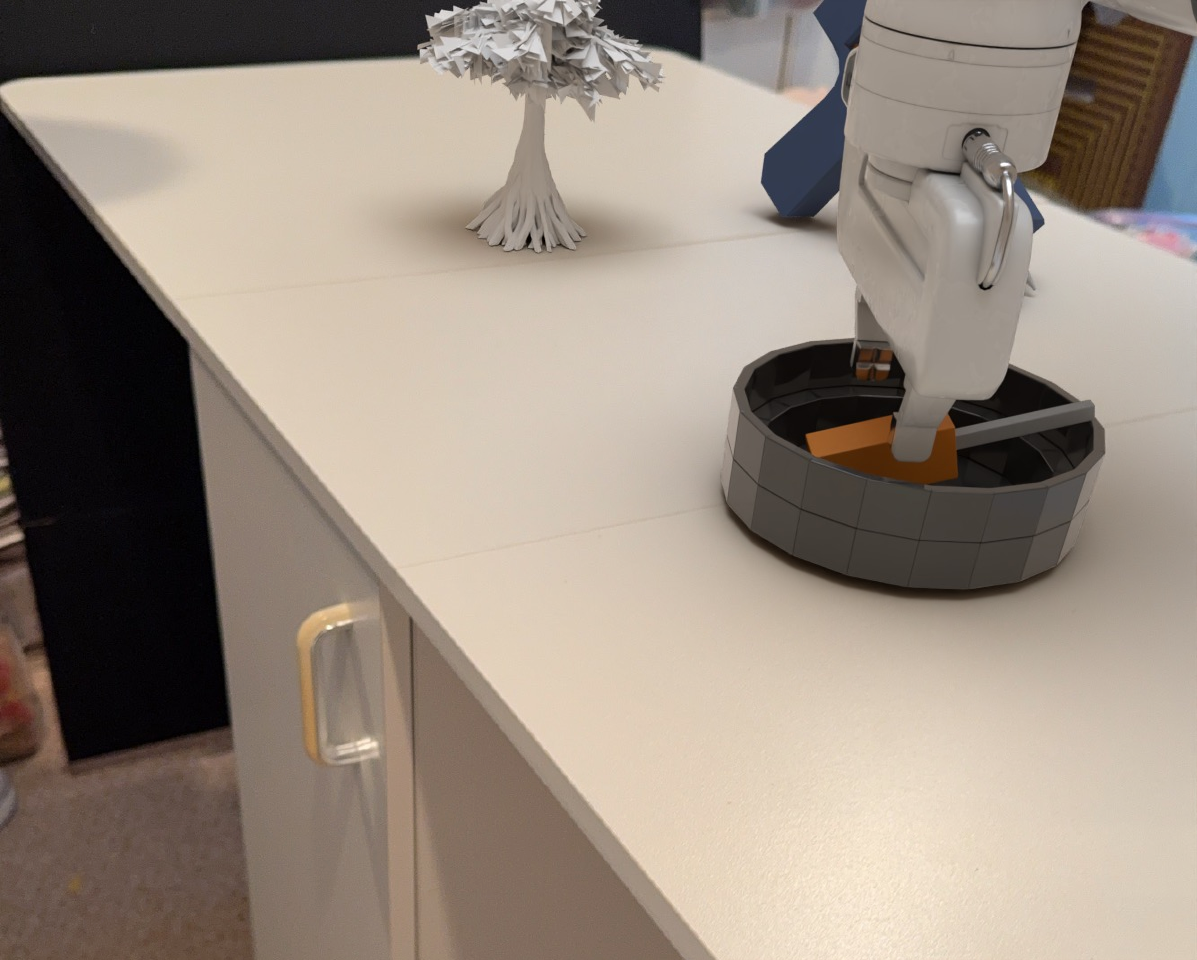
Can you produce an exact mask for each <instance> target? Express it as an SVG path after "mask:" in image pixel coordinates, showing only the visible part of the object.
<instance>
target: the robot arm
mask: <svg viewBox="0 0 1197 960" xmlns="http://www.w3.org/2000/svg"><path fill="white" fill-rule="evenodd" d="M1089 2H1091V3H1094V4H1096V5H1098V6H1099V5H1100V6H1102V7H1106V8H1108V9H1111V10H1115V11H1118V12H1122V13H1125V14H1127V15H1129V16H1131V17H1133V18H1135V19H1137V20H1140V21H1141V22H1145V23H1148V24H1150V25H1151V24H1152V25H1155V26H1158V27H1162V28H1165V29H1168V30H1172V31H1175V32H1178V33H1181V34H1186V35H1187V36H1192V37H1195V38H1197V0H867V2H866V6H865V11H864V17H863V23H862V28H861V36H860V41H859V46H858V47H856V48H855V49H853V50H852V51H851V52H850V53H849V55H848V57H847V60H846V64H845V69H844V71H845V72H844V75H843V81H842V89H841V96H842V100H843V102H844V103H845V105H846V107H847V117H846V123H845V128H844V134H845V143H844V152H843V161H842V170H841V179H840V189H839V192H838V199H837V200H838V201H837V211H836V236H837V237H836V240H837V250H838V253H839V256H841V258H842V260H843V262H844V264H845V265H846V267H847V270H848V271H849V273H850V274H851V276H852V278H853V280H854V282H855V284H856V285H855V286H856V287H855V291H854V338H855V339H854V344H853V350H852V355H851V360H850V364H851V367H852V369H853V371H854V372H855V374H856V376H857V378H858V379H859V380H861V381H868V380H872V381H883V380H885V379H886V378H887V377H888V375H889V371H890V364H891V362H892V357H893V353H894V354H895V356H896V358H897V359H898V361H899V363H900V365H901V367H902V369H903V370H904V372H905V374H906V375H905V379H904V388H905V390H906V392H905V395H904V398H903V401H902V404H901V407H900V410H899V412H893V415H892V420H891V424H890V432H889V434H888V438H887V441H888V445H889V447H890V450H891V452H892V454H893V456H894V458H895V459H896V460H898V461H899V462H919V463H920V462H924V461H926V460H927V459H928V458H929V457H930V455H931V452H932V448H933V444H934V440H935V436H936V432H937V428H938V427H939V426H940V424H941V423H942V421H943V419H944V418H945V416H946V415H947V413H948V412H949V410H950V408H951V407H952V405H953V404H954V402H955V401H956V400H986V399H989V398H990V397H992V395H993V394H994V393H995V392H996V390H997V389H998V388H999V386H1000V385H1001V383H1002V381H1003V380H1004V377H1005V375H1006V372H1007V369H1008V365H1009V364H1010V361H1011V357H1012V351H1013V348H1014V343H1015V338H1016V334H1017V329H1018V324H1019V320H1020V316H1021V312H1022V311H1021V310H1022V305H1023V301H1024V296H1025V293H1026V292H1025V291H1026V286H1027V283H1026V282H1027V277H1028V271H1029V272H1030V266H1031V265H1030V264H1031V259H1032V251H1033V240H1034V234H1033V222H1032V216H1031V213H1030V211H1029V208H1028V207H1027V205H1026V204H1025V203H1024V201H1023V200H1022V199H1021V198H1020V197H1019V196H1018V195H1017V194H1016V193H1015V192H1014V186H1013V184H1014V183H1015V181H1016V179H1017V176H1018V174H1019V173H1024V172H1028V171H1032V170H1034V169H1037V168H1039V167H1040V166H1042V165H1043V164H1044V163H1045V162H1046V161H1047V158H1048V156H1049V151H1050V148H1051V143H1052V141H1053V136H1054V132H1055V129H1056V124H1057V121H1058V118H1059V114H1060V110H1061V106H1062V101H1063V98H1064V93H1065V90H1066V85H1067V82H1068V78H1069V75H1070V71H1071V68H1072V67H1071V66H1072V63H1073V60H1074V55H1075V52H1076V48H1077V45H1078V40H1079V37H1080V33H1081V28H1082V27H1081V26H1082V11H1083V9H1084V7H1085V6H1086V5H1087V4H1088V3H1089Z"/></svg>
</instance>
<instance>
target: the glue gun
mask: <svg viewBox="0 0 1197 960" xmlns="http://www.w3.org/2000/svg"><path fill="white" fill-rule="evenodd" d="M866 2H867V0H822V2H821V3H820V4H819V5H818V6H817V7H816V9H814V11H813V12H812V14H813V15H814V17H815V19H816V20H817V22H818V24H819V25H820V27H821V28H822V30H823V31H824V34H825V35H826V37H827V38H828V40H829V41H830V43H831V44H832V47H833V50H834V51H835V54H836V56H837V58H838V73H837V74H838V75H837V78H836V80H835V82H834V84H833V85H834V86H833V87H832V88H831V89H830V90H829V91H828V92H827V94H826V95H825V96H824V97H823V99H821V100H820V101H819V102H818V103H817V104H816V105H814V106H813V108H811V110H810V111H808V113H806V114H805V115H804V116H803V117H802V118H801V119H800V120H799V121H798V122H797V123H795V124H794V126H792V128H791V129H789V130H788V131H787V132H786V133H785V134H784V135H782V137H780V139H778V140H777V141H776V142H775V143H774V144H773V145H772V146H771V147H770V148H769V149H768V150H767V151H766V152H765V153H764V154H763V162H762V170H761V176H760V185H761V186H762V188H763V189H764V191H765V192H766V194H767V196H768V198H769V199H770V201H771V202H772V204H773V205H774V208H775V209H776V211H777V212H778V214H779V216H780V217H782V218H815V217H816V216H817V215H818V213H819V212H821V210H823V209H824V207H826V206H827V204H829V203H830V202H831V200H833V198H834V197H835V196H836V195H837V194H839V189H840V179H841V170H842V161H843V152H844V143H845V134H844V128H845V123H846V117H847V107H846V105H845V103H844V102H843V100H842V96H841V89H842V81H843V75H844V72H845V71H844V69H845V64H846V60H847V57H848V55H849V53H850V52H851V51H852V50H853V49H855V48H856V47H858V46H859V41H860V36H861V28H862V23H863V17H864V11H865V6H866ZM1013 186H1014V192H1015V193H1016V194H1017V195H1018V196H1019V197H1020V198H1021V199H1022V200H1023V201H1024V203H1025V204H1026V205H1027V207H1028V208H1029V211H1030V213H1031V216H1032V222H1033V235H1034V234H1035V233H1037V231H1039V230H1040V229H1041V228H1042V227H1043V226H1044V225H1045V224H1046V222H1045V218H1044V216H1043V215H1042V213H1041V211H1040V210H1039V208H1038V206H1037V205H1036V203H1035V202H1034V200H1033V199H1032V197H1031V195H1030V194H1029V192H1028V190H1027V189H1026V188H1025V187H1026V186H1025V185H1024V184H1023V182H1022V181H1021V180H1020V177H1019V176H1018V175H1017V179H1016V181H1015V183H1014V184H1013ZM1026 285H1028V287H1030V288H1031V290H1032V291H1036V289H1037V287H1036V284H1035V281H1034V279H1033V277H1032V274H1031V272H1030V270H1029V271H1028V277H1027V282H1026Z"/></svg>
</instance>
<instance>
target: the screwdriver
mask: <svg viewBox="0 0 1197 960" xmlns="http://www.w3.org/2000/svg"><path fill="white" fill-rule="evenodd" d="M1095 417H1096V405H1095V403H1094V402H1093V400H1092V399H1085V400H1080V402H1076V403H1071V404H1067V405H1062V406H1058V407H1053V408H1048V409H1044V410H1039V411H1035V412H1030V413H1026V414H1021V415H1017V416H1012V417H1007V418H1003V419H998V420H994V421H989V422H985V423H980V424H976V425H971V426H966V427H962V428H957V429H955V426H954V424H953V423H952V421H951V419H950V417H949V415H948V413H947V415H946V416H945V418H944V419H943V421H942V423H941V424H940V426H939V427H938V428H937V432H936V436H935V440H934V444H933V448H932V452H931V455H930V457H929V458H928V459H927V460H926V461H924V462H920V463H919V462H899V461H898V460H896V459H895V458H894V456H893V454H892V452H891V450H890V447H889V445H888V441H887V438H888V434H889V432H890V424H891V420H892V415H890V416H885V417H881V418H876V419H872V420H867V421H863V422H858V423H854V424H849V425H845V426H840V427H836V428H831V429H827V430H822V431H818V432H813V433H809V434H806V435H805V438H806V445H807V452H809V453H810V454H812V455H814V456H816V457H818V458H821V459H824V460H827V461H831V462H834V463H837V464H840V465H843V466H846V467H849V468H852V469H855V470H858V471H861V472H864V473H867V474H870V475H876V476H881V477H886V478H892V479H897V480H903V481H908V482H914V483H919V484H925V485H927V484H932V483H936V482H941V481H946V480H950V479H955V478H957V477H958V471H957V453H956V450H959V449H964V448H968V447H973V446H977V445H982V444H987V443H991V442H996V441H1000V440H1005V439H1010V438H1014V437H1019V436H1023V435H1028V434H1033V433H1037V432H1042V431H1046V430H1051V429H1056V428H1060V427H1065V426H1069V425H1074V424H1079V423H1083V422H1088V421H1092V420H1095Z"/></svg>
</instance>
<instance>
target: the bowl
mask: <svg viewBox="0 0 1197 960" xmlns="http://www.w3.org/2000/svg"><path fill="white" fill-rule="evenodd" d="M854 339H855V337H847V338H834V339H821V340H808V341H805V342H801V343H796V344H793V345H789V346H785V347H781V348H777V349H773V350H771V351H768V352H766V353H764V354H763V355H762V356H760V357H758V358H757V359H755V360H753V361H752V362H749V363H748V364H746V365H745V366H744V367H742V370H741V371H740V374H739V375H738V377H737V379H736V381H735V383H734V385H733V387H732V390H731V391H732V392H731V399H730V406H729V413H728V421H727V429H726V434H725V435H726V436H725V442H724V450H723V456H722V457H723V458H722V465H721V472H720V481H721V484H722V488H723V489H722V490H723V493H724V497H725V501H726V504H727V506H728V508H730V509H731V510H732V511H733V512H734V513H735V514H736V516H737V517H738V518H739V519H740V520H741V521H742V523H744V525H746V527H747V528H748V529H749V530H750V531H751V532H752V533H754V534H755V535H757V536H759V537H760V538H762V539H764V540H765V541H768V542H769V543H771V544H772V545H774V546H776V547H777V548H779V549H781V550H782V551H784V552H786V553H787V554H789V555H790V556H793V557H796V558H798V559H800V560H804V561H807V562H809V563H812V564H815V565H817V566H820V567H823V568H826V569H829V570H830V571H834V572H837V573H840V574H841V575H844V576H847V577H852V578H857V579H863V580H867V581H873V582H879V583H883V584H888V585H894V586H897V587H904V588H915V589H916V588H917V589H939V590H940V589H942V590H943V589H944V590H973V589H974V590H975V589H980V588H987V587H993V586H1001V585H1007V584H1015V583H1020V582H1022V581H1025V580H1027V579H1029V578H1031V577H1035V576H1036V575H1038V574H1040V573H1041V574H1042V573H1043V572H1046V571H1048V570H1050V569H1053V568H1054V567H1057V566H1058V565H1059V563H1061V561H1062V560H1063V559H1064V558H1065V557H1066V555H1067V554H1068V553H1069V552H1070V551H1071V549H1072V548H1074V546H1075V545H1076V543H1077V540H1078V537H1079V534H1080V531H1081V528H1082V525H1083V523H1084V519H1085V516H1086V513H1087V510H1088V507H1089V504H1090V501H1091V497H1092V495H1093V492H1094V489H1095V486H1096V483H1097V480H1098V476H1099V474H1100V471H1101V469H1102V465H1103V462H1104V459H1105V456H1106V429H1105V428H1104V426H1103V425H1102V423H1101V422H1100V420H1098V418H1097V417H1096V416H1095V420H1092V421H1088V422H1083V423H1079V424H1074V425H1069V426H1065V427H1060V428H1056V429H1051V430H1046V431H1042V432H1037V433H1033V434H1028V435H1023V436H1019V437H1014V438H1010V439H1005V440H1000V441H996V442H991V443H987V444H982V445H977V446H973V447H968V448H964V449H959V450H956V453H957V471H958V477H957V478H955V479H950V480H946V481H941V482H936V483H932V484H927V485H925V484H919V483H914V482H908V481H903V480H897V479H892V478H886V477H881V476H876V475H870V474H867V473H864V472H861V471H858V470H855V469H852V468H849V467H846V466H843V465H840V464H837V463H834V462H831V461H827V460H824V459H821V458H818V457H816V456H814V455H812V454H810V453H809V452H807V445H806V438H805V435H806V434H809V433H813V432H818V431H822V430H827V429H831V428H836V427H840V426H845V425H849V424H854V423H858V422H863V421H867V420H872V419H876V418H881V417H885V416H890V415H893V412H899V410H900V407H901V404H902V401H903V398H904V395H905V392H906V390H905V388H904V379H905V375H906V374H905V372H904V370H903V369H902V367H901V365H900V363H899V361H898V359H897V358H896V356H895V354H894V353H893V357H892V362H891V364H890V371H889V375H888V377H887V378H886V379H885V380H883V381H872V380H868V381H861V380H859V379H858V378H857V376H856V374H855V372H854V371H853V369H852V367H851V364H850V360H851V355H852V350H853V344H854ZM1080 401H1081V400H1080V399H1079V398H1077V397H1076V396H1074V395H1072V394H1071V393H1070V392H1068V391H1067V390H1066V389H1064V388H1062V387H1060V386H1059V385H1058V384H1056V382H1055V383H1054V382H1053V381H1051V380H1049V379H1046V378H1044V377H1042V376H1039V375H1037V374H1035V373H1032V372H1030V371H1028V370H1025V369H1023V368H1021V367H1019V366H1016V365H1014V364H1012V363H1009V365H1008V369H1007V372H1006V375H1005V377H1004V380H1003V381H1002V383H1001V385H1000V386H999V388H998V389H997V390H996V392H995V393H994V394H993V395H992V397H990V398H989V399H986V400H956V401H955V402H954V404H953V405H952V407H951V408H950V410H949V412H948V415H949V417H950V419H951V421H952V423H953V424H954V426H955V429H957V428H962V427H966V426H971V425H976V424H980V423H985V422H989V421H994V420H998V419H1003V418H1007V417H1012V416H1017V415H1021V414H1026V413H1030V412H1035V411H1039V410H1044V409H1048V408H1053V407H1058V406H1062V405H1067V404H1071V403H1076V402H1080Z"/></svg>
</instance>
